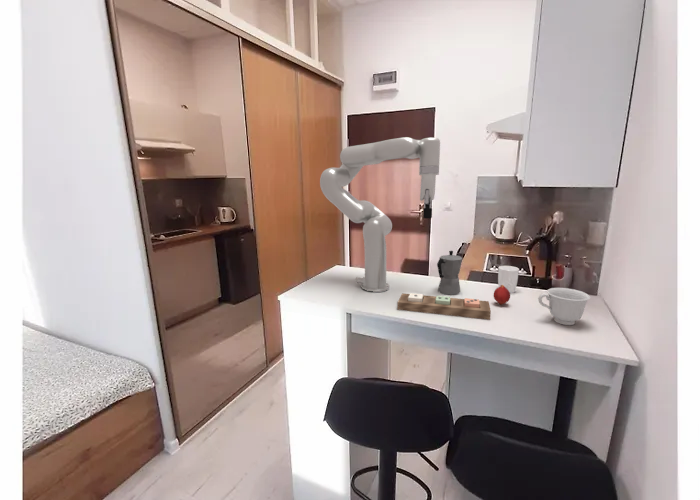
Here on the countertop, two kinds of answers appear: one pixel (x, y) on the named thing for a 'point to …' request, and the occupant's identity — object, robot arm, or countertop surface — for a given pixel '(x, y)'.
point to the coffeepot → (449, 274)
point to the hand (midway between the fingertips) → (427, 218)
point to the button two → (443, 300)
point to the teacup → (565, 304)
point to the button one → (415, 297)
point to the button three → (471, 303)
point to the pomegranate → (502, 295)
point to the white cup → (508, 277)
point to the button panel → (445, 307)
